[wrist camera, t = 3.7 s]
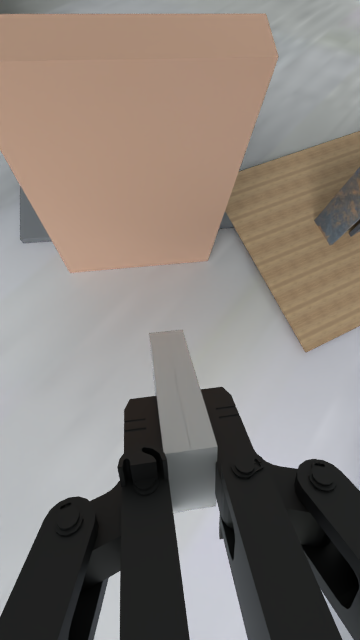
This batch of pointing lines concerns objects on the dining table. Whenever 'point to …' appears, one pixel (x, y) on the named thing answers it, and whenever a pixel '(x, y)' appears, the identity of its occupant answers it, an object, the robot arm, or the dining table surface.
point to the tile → (131, 127)
